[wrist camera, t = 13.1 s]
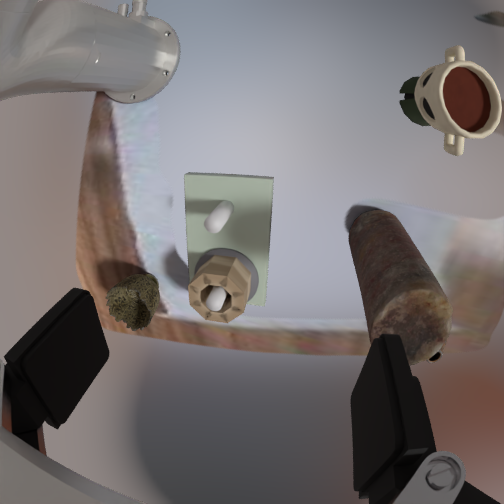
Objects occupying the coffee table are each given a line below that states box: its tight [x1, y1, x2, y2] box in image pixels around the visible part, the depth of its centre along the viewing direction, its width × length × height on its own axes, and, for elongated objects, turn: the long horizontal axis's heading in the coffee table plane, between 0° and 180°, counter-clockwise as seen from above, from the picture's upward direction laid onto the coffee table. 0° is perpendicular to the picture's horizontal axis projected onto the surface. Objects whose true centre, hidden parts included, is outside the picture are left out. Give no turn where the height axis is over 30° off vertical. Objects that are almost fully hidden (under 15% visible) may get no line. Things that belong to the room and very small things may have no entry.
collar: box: [188, 255, 251, 323], centre depth 39 cm, size 7×7×5 cm
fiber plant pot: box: [106, 274, 160, 331], centre depth 43 cm, size 8×7×8 cm
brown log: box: [349, 210, 453, 366], centre depth 29 cm, size 8×7×20 cm
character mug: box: [400, 45, 502, 156], centre depth 23 cm, size 11×7×13 cm, turn 0°
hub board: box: [184, 172, 274, 311], centre depth 38 cm, size 18×11×8 cm, turn 178°
